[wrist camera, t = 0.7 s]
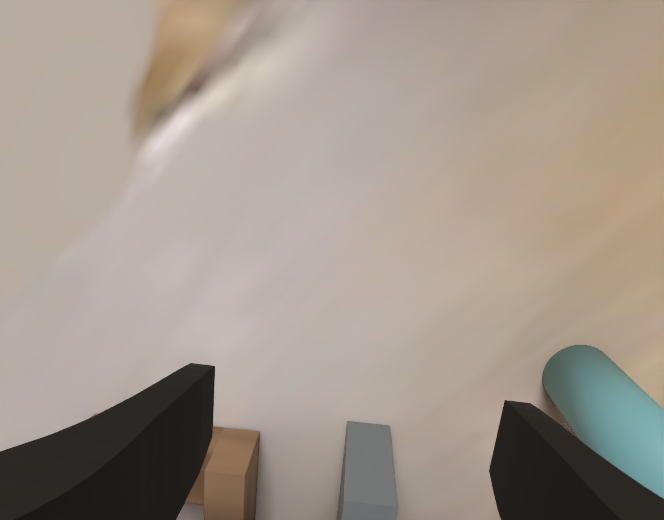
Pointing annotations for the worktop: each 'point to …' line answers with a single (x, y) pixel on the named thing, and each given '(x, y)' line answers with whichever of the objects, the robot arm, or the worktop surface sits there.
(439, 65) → the worktop surface
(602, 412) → the dowel
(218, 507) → the brown square frame
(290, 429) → the worktop surface
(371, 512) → the board
